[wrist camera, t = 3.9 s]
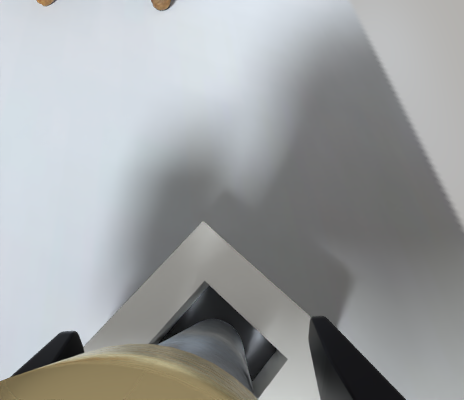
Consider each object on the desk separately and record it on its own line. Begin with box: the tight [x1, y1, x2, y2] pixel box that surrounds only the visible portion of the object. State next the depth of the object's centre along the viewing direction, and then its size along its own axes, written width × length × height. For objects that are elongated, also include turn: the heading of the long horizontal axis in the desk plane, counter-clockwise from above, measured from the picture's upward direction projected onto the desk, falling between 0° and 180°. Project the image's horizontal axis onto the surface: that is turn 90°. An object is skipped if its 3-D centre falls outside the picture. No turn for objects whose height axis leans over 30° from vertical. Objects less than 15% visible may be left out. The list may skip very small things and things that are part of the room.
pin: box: [0, 319, 258, 400], centre depth 8 cm, size 4×4×14 cm
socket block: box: [83, 221, 321, 400], centre depth 14 cm, size 8×8×3 cm
